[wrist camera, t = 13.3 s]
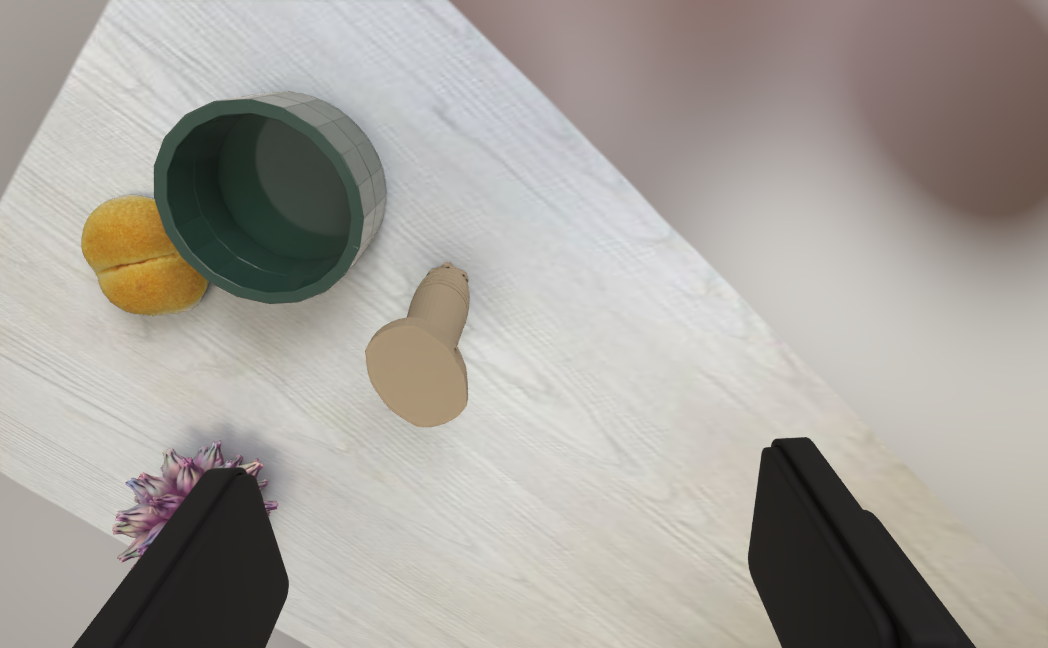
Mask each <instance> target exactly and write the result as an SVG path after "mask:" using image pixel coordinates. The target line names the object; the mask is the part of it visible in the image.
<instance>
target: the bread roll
mask: <svg viewBox="0 0 1048 648" xmlns="http://www.w3.org/2000/svg"><path fill="white" fill-rule="evenodd" d="M81 247H82V252H83V255H84V257H85V259H86V261H87V262H88V264H89V265H90V266H91V267H92V269H93V270H94V272H95V273H96V275H97V277H98V281H99V285H100V287H101V289H102V292H103V293H104V295H105V296H106V297H107V298H108V299H109V301H110V302H111V303H113V304H114V305H116V306H117V307H119V308H121V309H122V310H124V311H126V312H130V313H134V314H142V315H152V316H156V315H164V314H171V313H180V312H184V311H188V310H191V309H193V308H195V307H196V306H197V305H198V304H199V302H200V300H201V298H202V296H203V295H204V293H205V291H206V289H207V286H208V281H207V280H206V279H205V278H204V277H203V276H202V275H201V274H200V273H198V272H197V271H196V270H195V269H194V268H193V267H192V266H191V265H189V264H188V263H187V262H186V261H185V260H184V259H183V258H182V257H181V255H180V254H179V252H178V251H177V249H176V248H175V246H174V245H173V243H172V242H171V240H170V239H169V237H168V236H167V234H166V233H165V230H164V228H163V225H162V222H161V219H160V215H159V212H158V209H157V206H156V203H155V199H151V198H148V197H144V196H139V195H125V196H121V197H117V198H114V199H111V200H108V201H106V202H104V203H103V204H101V205H100V206H98V207H97V208H96V209H95V210H94V211H93V212H92V213H91V215H90V216H89V217H88V219H87V221H86V223H85V225H84V228H83V233H82V241H81Z"/></svg>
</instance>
